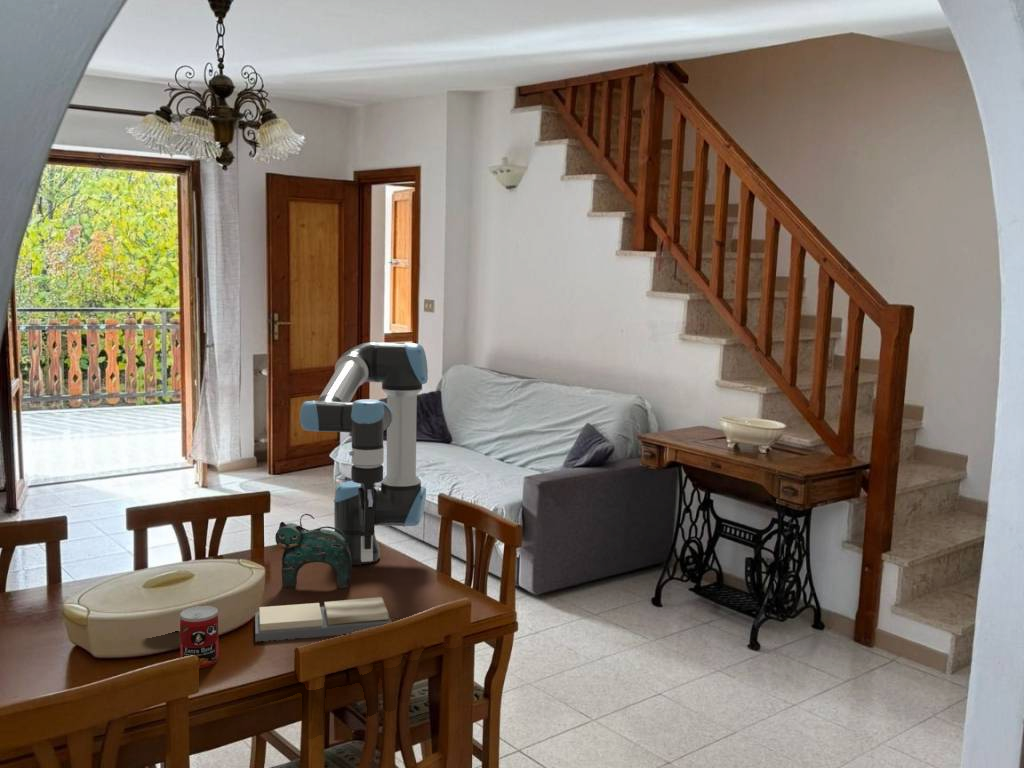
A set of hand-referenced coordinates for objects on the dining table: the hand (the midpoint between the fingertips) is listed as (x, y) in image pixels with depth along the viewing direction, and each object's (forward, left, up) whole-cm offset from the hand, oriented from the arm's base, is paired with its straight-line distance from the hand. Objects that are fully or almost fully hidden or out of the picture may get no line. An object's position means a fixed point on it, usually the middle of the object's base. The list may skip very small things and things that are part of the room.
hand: (366, 560), depth 215 cm
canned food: (+16, -38, -15) cm, 44 cm away
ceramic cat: (-28, -11, -15) cm, 33 cm away
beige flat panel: (+1, -3, -13) cm, 13 cm away
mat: (+1, -11, -15) cm, 18 cm away
